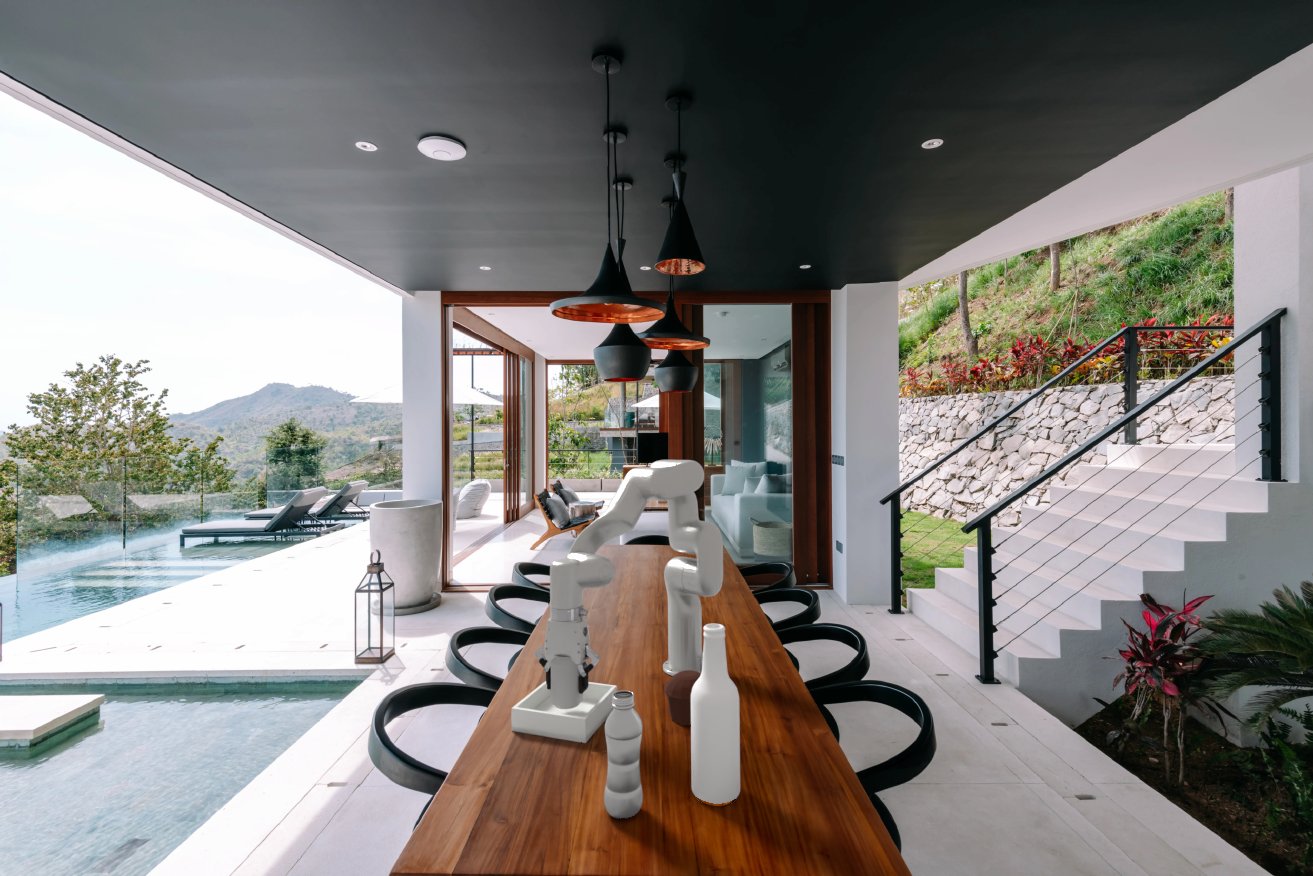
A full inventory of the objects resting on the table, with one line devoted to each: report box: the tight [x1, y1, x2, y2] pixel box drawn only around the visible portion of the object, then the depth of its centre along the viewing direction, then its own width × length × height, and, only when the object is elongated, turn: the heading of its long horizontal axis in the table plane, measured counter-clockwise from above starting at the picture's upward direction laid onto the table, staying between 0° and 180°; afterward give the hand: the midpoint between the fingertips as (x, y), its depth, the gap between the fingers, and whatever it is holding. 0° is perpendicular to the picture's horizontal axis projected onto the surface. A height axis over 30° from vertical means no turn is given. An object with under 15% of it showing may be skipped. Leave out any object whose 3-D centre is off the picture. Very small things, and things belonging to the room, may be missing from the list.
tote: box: [510, 680, 618, 744], centre depth 131 cm, size 18×18×5 cm
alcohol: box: [690, 623, 741, 804], centre depth 102 cm, size 9×9×30 cm
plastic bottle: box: [603, 690, 644, 820], centre depth 97 cm, size 6×7×20 cm
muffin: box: [663, 670, 701, 726], centre depth 132 cm, size 12×11×10 cm
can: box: [551, 655, 583, 709], centre depth 131 cm, size 8×8×12 cm
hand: (567, 688), depth 131 cm, fingers closed on can, 7 cm apart
